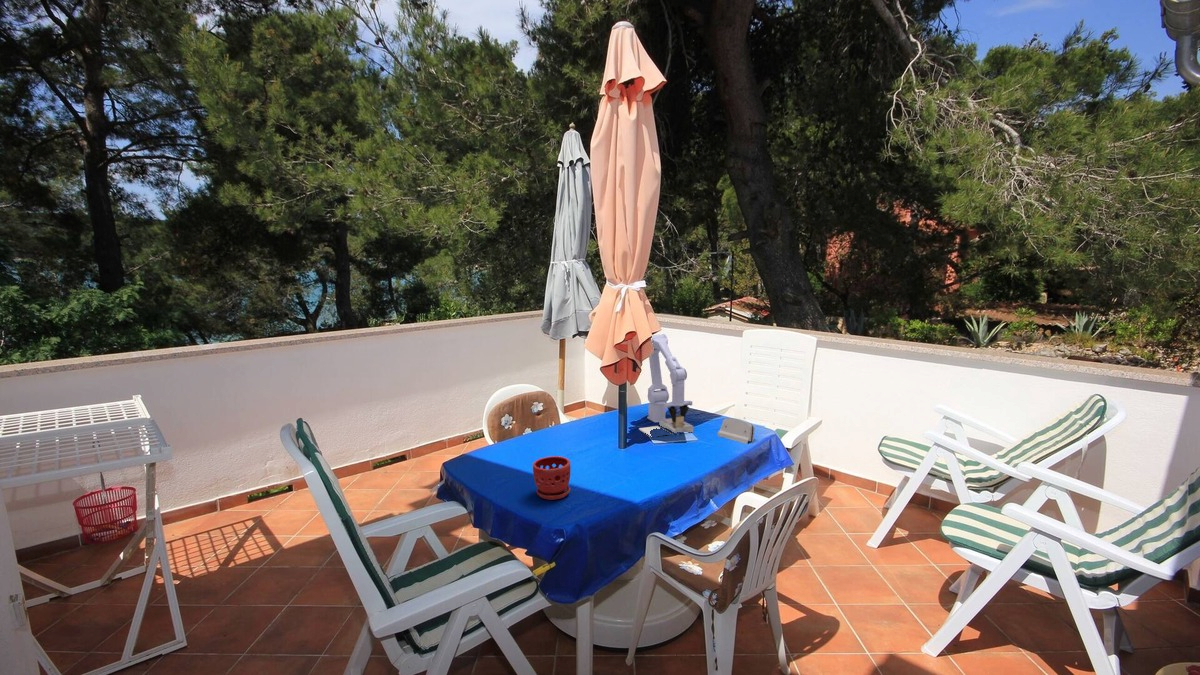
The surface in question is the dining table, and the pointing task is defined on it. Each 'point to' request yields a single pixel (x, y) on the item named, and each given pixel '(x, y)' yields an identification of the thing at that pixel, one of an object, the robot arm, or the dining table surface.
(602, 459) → the dining table surface
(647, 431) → the pad
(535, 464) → the plant pot
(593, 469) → the dining table surface
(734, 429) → the hinge
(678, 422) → the peg
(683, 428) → the white frame
